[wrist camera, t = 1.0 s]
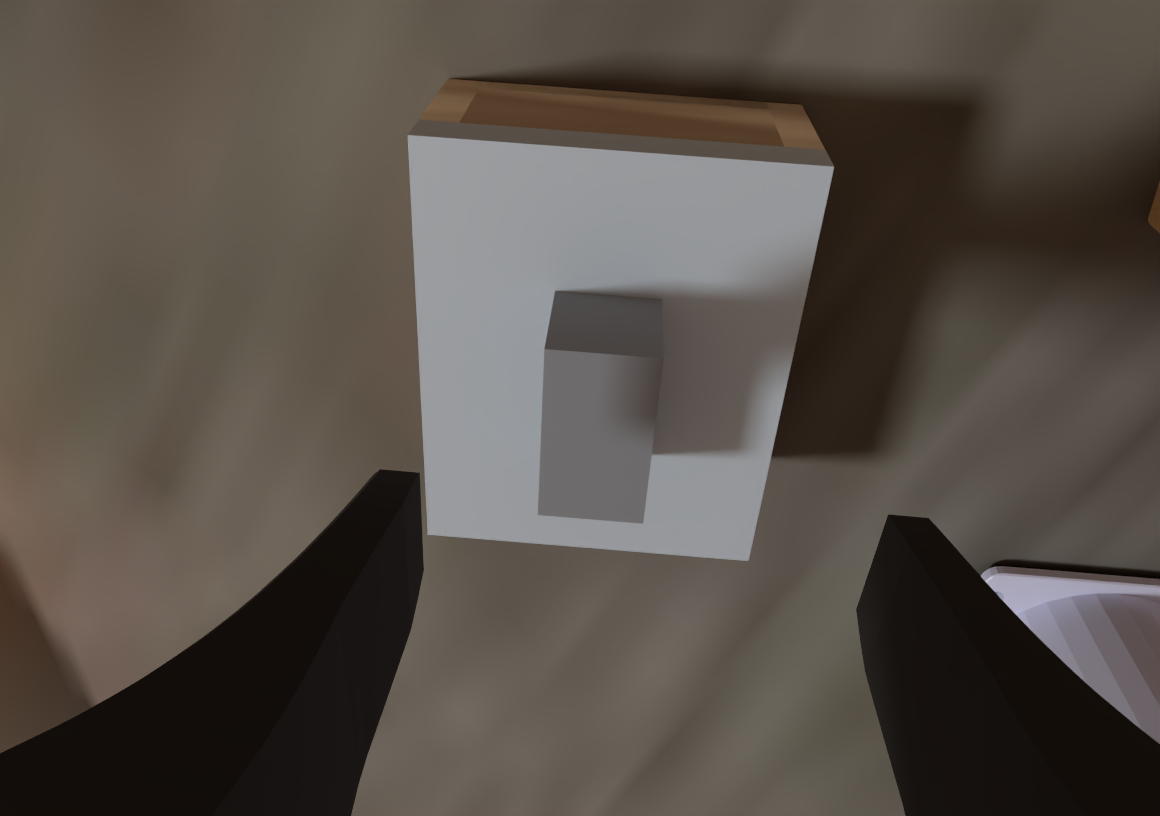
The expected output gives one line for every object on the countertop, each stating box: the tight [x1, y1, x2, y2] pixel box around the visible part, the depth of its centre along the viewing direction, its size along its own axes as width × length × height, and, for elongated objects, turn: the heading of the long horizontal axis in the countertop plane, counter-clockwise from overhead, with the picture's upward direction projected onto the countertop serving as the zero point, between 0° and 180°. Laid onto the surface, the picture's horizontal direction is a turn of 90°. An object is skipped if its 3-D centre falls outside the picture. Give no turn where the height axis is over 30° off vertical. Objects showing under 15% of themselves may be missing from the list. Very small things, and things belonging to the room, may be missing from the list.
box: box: [419, 79, 825, 150], centre depth 22 cm, size 10×8×3 cm
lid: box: [408, 120, 834, 561], centre depth 19 cm, size 10×8×3 cm
